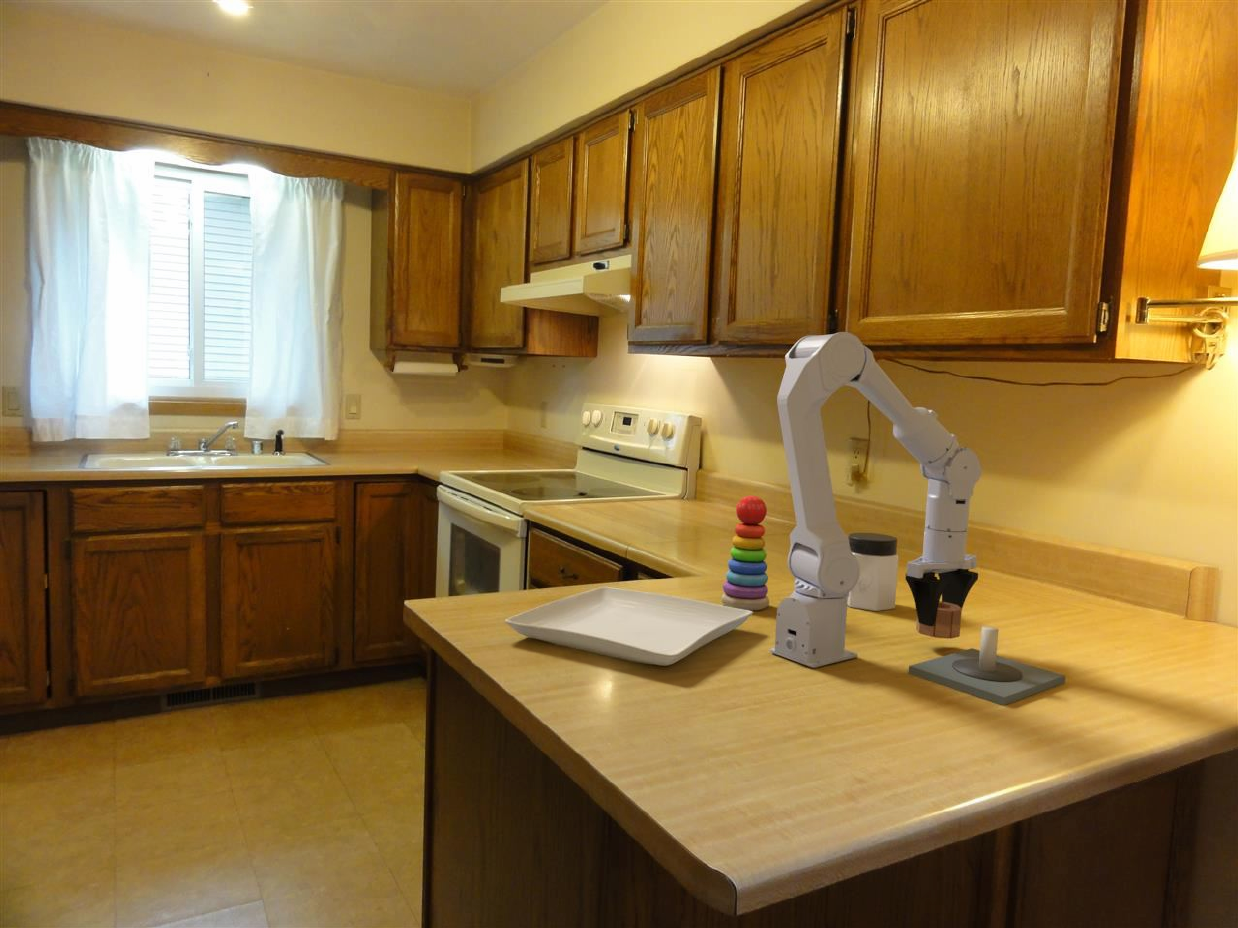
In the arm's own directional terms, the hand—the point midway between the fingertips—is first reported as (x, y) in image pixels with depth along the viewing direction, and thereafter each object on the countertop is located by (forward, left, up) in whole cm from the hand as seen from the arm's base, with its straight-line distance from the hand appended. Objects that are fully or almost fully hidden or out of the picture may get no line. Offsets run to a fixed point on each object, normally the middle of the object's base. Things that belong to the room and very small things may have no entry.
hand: (938, 621), depth 122 cm
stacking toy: (-8, +31, -4) cm, 32 cm away
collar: (0, 0, -2) cm, 2 cm away
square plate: (-35, +27, -5) cm, 44 cm away
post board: (-6, -11, -4) cm, 13 cm away
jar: (+12, +21, -4) cm, 25 cm away
